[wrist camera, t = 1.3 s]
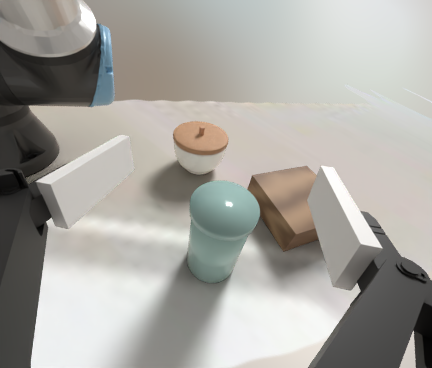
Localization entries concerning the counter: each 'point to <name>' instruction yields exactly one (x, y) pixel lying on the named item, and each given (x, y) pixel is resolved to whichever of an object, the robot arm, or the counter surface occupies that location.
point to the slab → (286, 205)
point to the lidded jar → (199, 146)
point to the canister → (219, 228)
